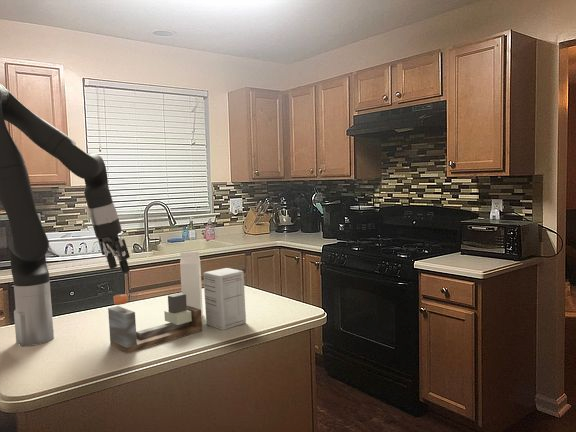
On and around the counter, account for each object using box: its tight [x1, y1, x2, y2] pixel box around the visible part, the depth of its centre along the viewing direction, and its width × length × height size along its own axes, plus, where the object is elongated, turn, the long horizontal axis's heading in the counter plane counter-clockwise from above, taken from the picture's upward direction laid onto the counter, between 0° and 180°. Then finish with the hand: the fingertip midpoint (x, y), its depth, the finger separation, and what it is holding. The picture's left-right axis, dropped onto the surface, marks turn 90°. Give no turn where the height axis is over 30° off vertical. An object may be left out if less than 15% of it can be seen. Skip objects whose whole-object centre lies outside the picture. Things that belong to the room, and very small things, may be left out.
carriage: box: [163, 292, 192, 325], centre depth 142 cm, size 5×7×8 cm
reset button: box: [113, 293, 128, 306], centre depth 129 cm, size 4×4×2 cm
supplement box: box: [203, 267, 247, 331], centre depth 148 cm, size 10×9×17 cm
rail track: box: [107, 305, 203, 354], centre depth 137 cm, size 24×10×10 cm, turn 135°
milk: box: [179, 251, 204, 319], centre depth 156 cm, size 6×6×22 cm
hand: (119, 269), depth 145 cm, fingers open, 8 cm apart
